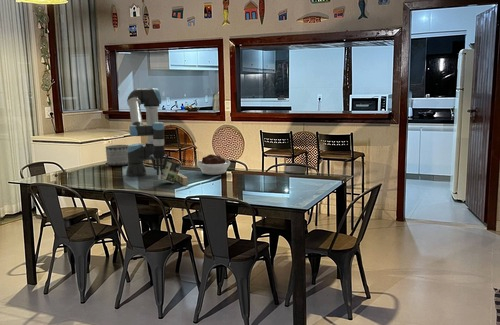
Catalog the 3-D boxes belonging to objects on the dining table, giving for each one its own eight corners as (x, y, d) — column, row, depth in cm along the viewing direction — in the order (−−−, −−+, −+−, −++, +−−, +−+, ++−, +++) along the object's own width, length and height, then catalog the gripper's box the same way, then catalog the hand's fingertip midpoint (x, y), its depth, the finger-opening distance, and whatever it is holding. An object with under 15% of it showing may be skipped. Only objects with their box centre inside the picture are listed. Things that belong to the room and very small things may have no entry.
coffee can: (176, 183, 338) (183, 164, 338) (171, 183, 328) (178, 164, 328) (162, 178, 340) (169, 159, 339) (158, 178, 329) (165, 158, 329)
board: (174, 179, 348) (174, 172, 347) (178, 179, 349) (178, 172, 348) (183, 185, 328) (183, 178, 327) (187, 184, 329) (187, 177, 328)
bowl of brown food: (225, 170, 382) (225, 151, 380) (234, 175, 359) (234, 155, 356) (194, 172, 374) (193, 153, 372) (201, 178, 351) (200, 157, 348)
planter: (102, 167, 403) (101, 147, 400) (112, 163, 422) (111, 144, 419) (124, 167, 400) (123, 147, 397) (133, 163, 419) (132, 144, 416)
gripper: (150, 146, 322) (151, 181, 325) (169, 145, 327) (170, 179, 330) (148, 145, 329) (149, 179, 332) (166, 144, 334) (167, 177, 337)
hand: (159, 179), depth 331 cm, fingers closed
